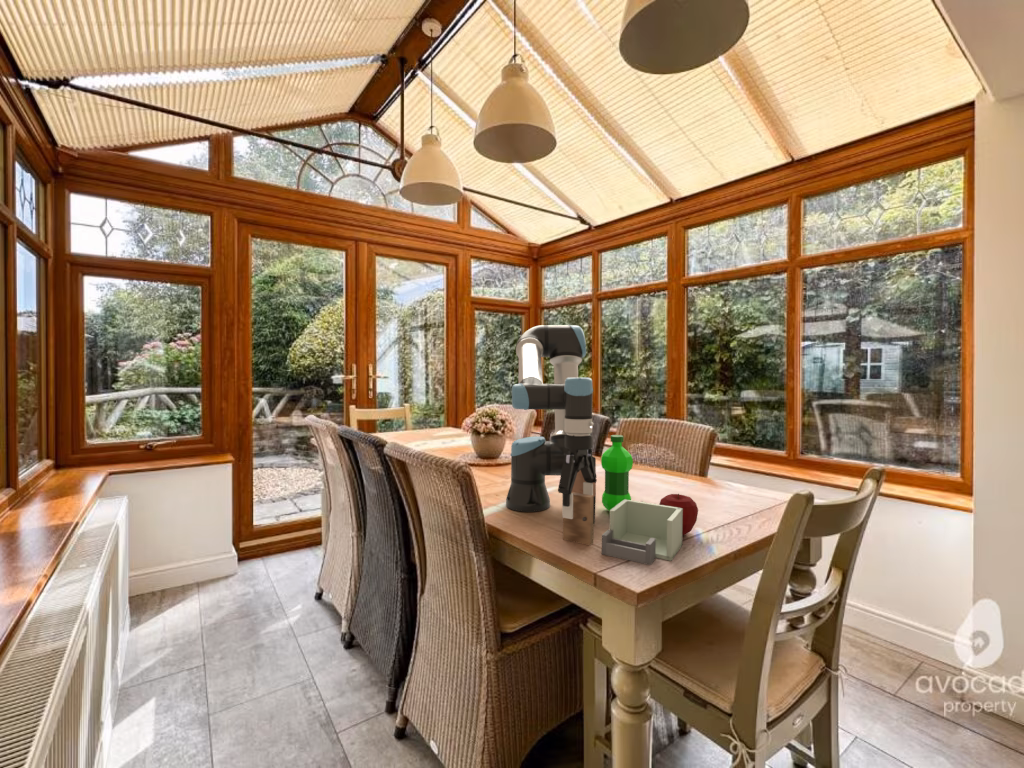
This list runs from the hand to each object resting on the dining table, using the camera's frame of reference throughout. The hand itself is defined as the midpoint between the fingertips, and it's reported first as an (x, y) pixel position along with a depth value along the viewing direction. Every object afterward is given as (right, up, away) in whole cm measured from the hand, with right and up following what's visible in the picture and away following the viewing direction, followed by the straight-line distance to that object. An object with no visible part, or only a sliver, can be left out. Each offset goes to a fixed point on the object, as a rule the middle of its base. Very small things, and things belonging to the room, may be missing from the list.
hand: (578, 511), depth 128 cm
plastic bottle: (+16, -7, +27) cm, 33 cm away
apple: (+29, -8, +6) cm, 31 cm away
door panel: (0, -8, +1) cm, 8 cm away
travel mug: (+4, -8, +16) cm, 18 cm away
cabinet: (+16, -8, -5) cm, 19 cm away
